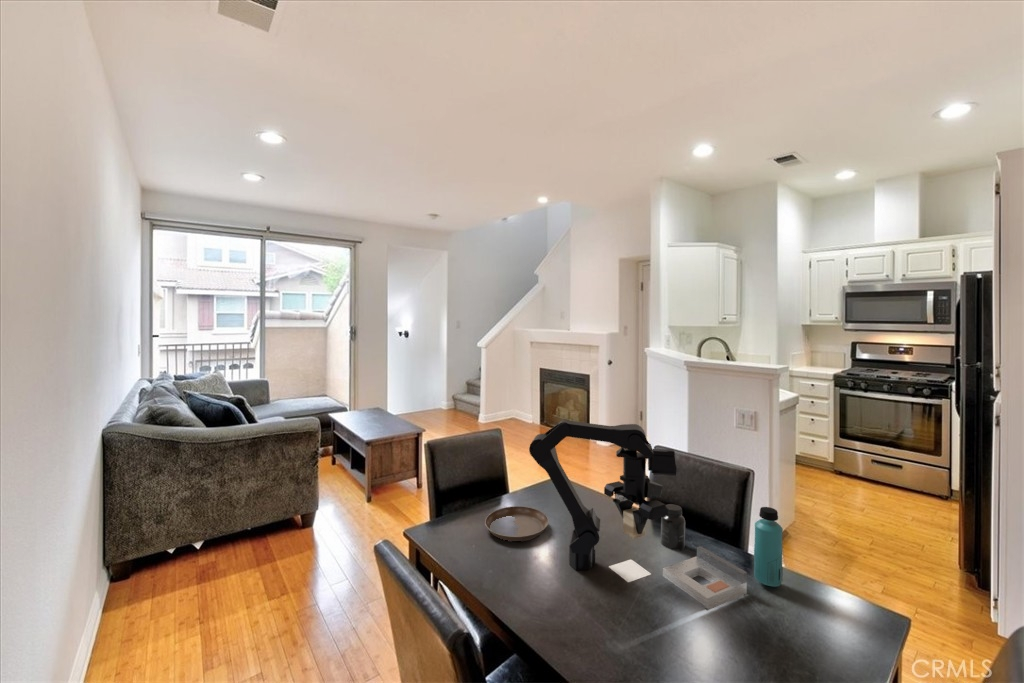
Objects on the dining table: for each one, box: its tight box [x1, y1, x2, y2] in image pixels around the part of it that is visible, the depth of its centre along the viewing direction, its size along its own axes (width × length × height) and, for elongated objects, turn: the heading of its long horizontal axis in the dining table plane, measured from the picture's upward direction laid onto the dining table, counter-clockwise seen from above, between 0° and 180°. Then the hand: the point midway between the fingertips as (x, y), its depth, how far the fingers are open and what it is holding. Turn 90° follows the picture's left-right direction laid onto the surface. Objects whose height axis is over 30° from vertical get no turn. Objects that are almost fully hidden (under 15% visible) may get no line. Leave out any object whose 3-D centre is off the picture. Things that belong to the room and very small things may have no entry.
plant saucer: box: [484, 505, 549, 542], centre depth 144 cm, size 21×21×3 cm
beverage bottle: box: [752, 506, 784, 587], centre depth 113 cm, size 6×7×20 cm
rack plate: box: [662, 545, 748, 611], centre depth 113 cm, size 14×14×6 cm
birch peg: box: [622, 507, 646, 540], centre depth 118 cm, size 4×4×6 cm
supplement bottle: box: [660, 503, 686, 551], centre depth 133 cm, size 7×7×12 cm
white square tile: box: [608, 559, 652, 583], centre depth 119 cm, size 8×8×1 cm
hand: (634, 530), depth 118 cm, fingers closed on birch peg, 4 cm apart
